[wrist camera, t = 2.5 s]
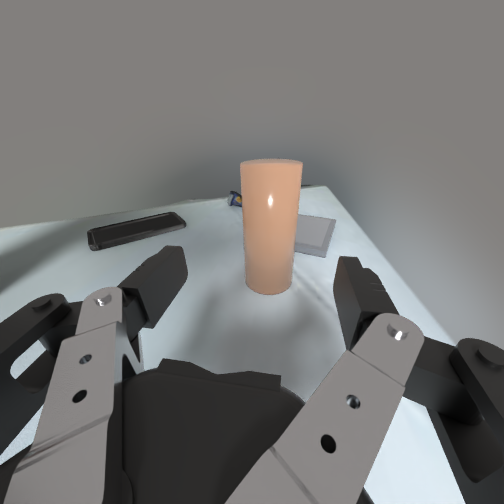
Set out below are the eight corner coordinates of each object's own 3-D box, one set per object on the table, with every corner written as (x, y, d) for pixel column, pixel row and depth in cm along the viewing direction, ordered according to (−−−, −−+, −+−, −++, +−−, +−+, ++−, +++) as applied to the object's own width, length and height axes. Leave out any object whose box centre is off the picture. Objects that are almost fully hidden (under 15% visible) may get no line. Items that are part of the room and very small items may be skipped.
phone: (86, 229, 37) (173, 210, 44) (89, 235, 38) (174, 216, 45) (88, 248, 32) (187, 223, 39) (91, 254, 32) (188, 228, 39)
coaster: (246, 241, 34) (246, 235, 33) (272, 215, 43) (272, 210, 43) (325, 257, 30) (326, 250, 29) (335, 224, 39) (336, 218, 38)
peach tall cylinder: (237, 287, 25) (228, 166, 18) (256, 262, 29) (255, 157, 22) (283, 300, 23) (293, 170, 16) (296, 271, 27) (308, 160, 20)
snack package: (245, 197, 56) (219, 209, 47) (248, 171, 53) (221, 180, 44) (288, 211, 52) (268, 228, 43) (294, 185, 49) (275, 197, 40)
